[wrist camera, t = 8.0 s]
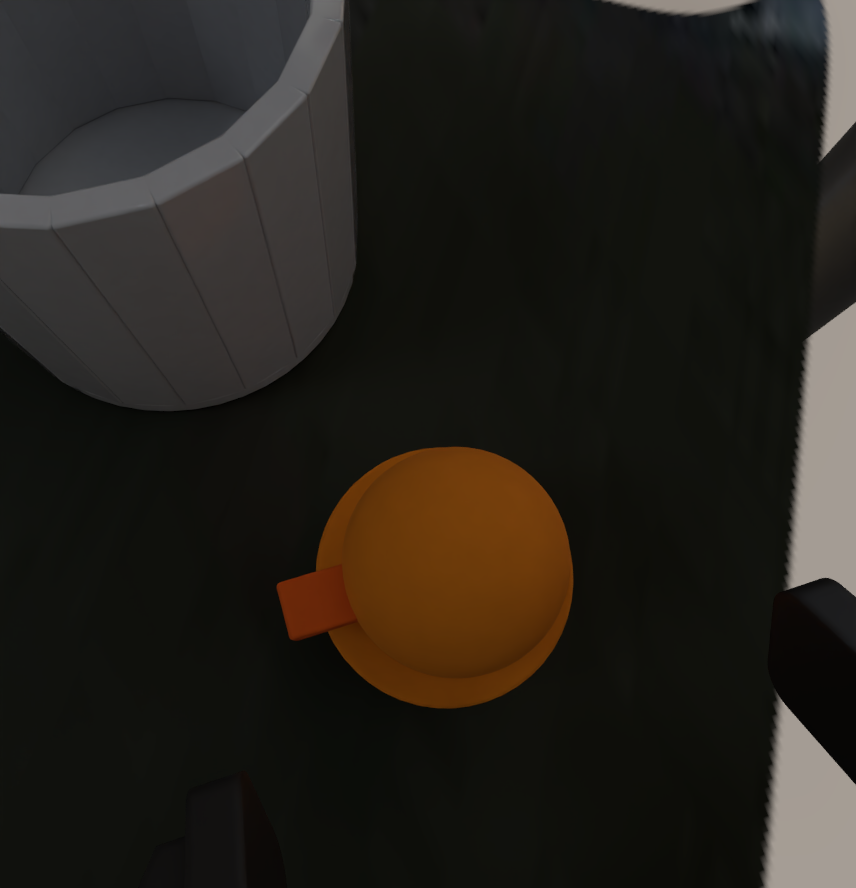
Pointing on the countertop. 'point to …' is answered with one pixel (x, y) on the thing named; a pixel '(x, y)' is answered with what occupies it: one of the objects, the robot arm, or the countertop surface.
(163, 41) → the pot
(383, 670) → the duck
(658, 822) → the countertop surface
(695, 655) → the countertop surface
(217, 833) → the robot arm
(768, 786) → the countertop surface
